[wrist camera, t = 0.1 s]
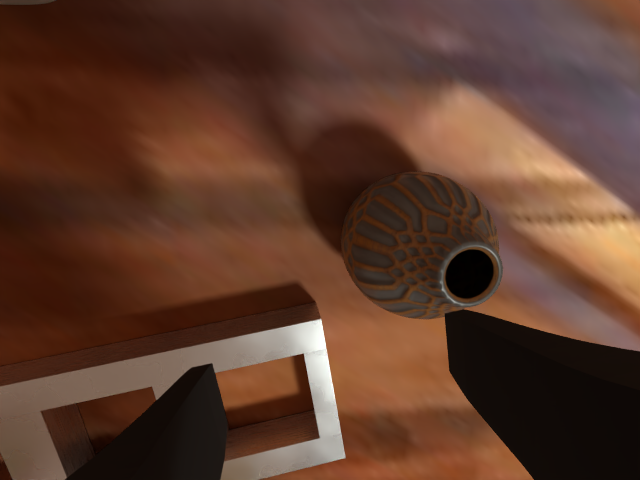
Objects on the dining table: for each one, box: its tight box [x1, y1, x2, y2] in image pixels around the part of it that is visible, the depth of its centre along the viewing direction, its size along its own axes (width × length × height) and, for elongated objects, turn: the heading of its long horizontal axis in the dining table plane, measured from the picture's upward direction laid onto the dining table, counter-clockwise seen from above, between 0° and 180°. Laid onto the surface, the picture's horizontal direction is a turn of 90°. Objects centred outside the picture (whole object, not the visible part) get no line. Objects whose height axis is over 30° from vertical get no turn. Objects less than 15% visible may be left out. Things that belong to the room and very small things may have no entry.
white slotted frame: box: [0, 302, 345, 480], centre depth 19 cm, size 9×24×2 cm, turn 99°
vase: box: [341, 172, 503, 319], centre depth 16 cm, size 7×7×9 cm
